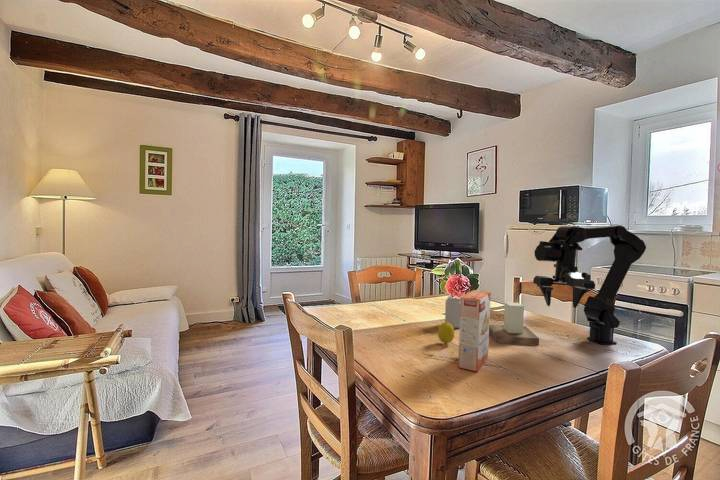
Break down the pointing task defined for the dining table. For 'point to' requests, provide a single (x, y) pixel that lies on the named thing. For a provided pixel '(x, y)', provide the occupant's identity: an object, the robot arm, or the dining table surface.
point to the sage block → (513, 317)
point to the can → (453, 311)
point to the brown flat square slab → (513, 336)
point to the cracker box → (474, 330)
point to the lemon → (446, 332)
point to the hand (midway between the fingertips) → (561, 306)
